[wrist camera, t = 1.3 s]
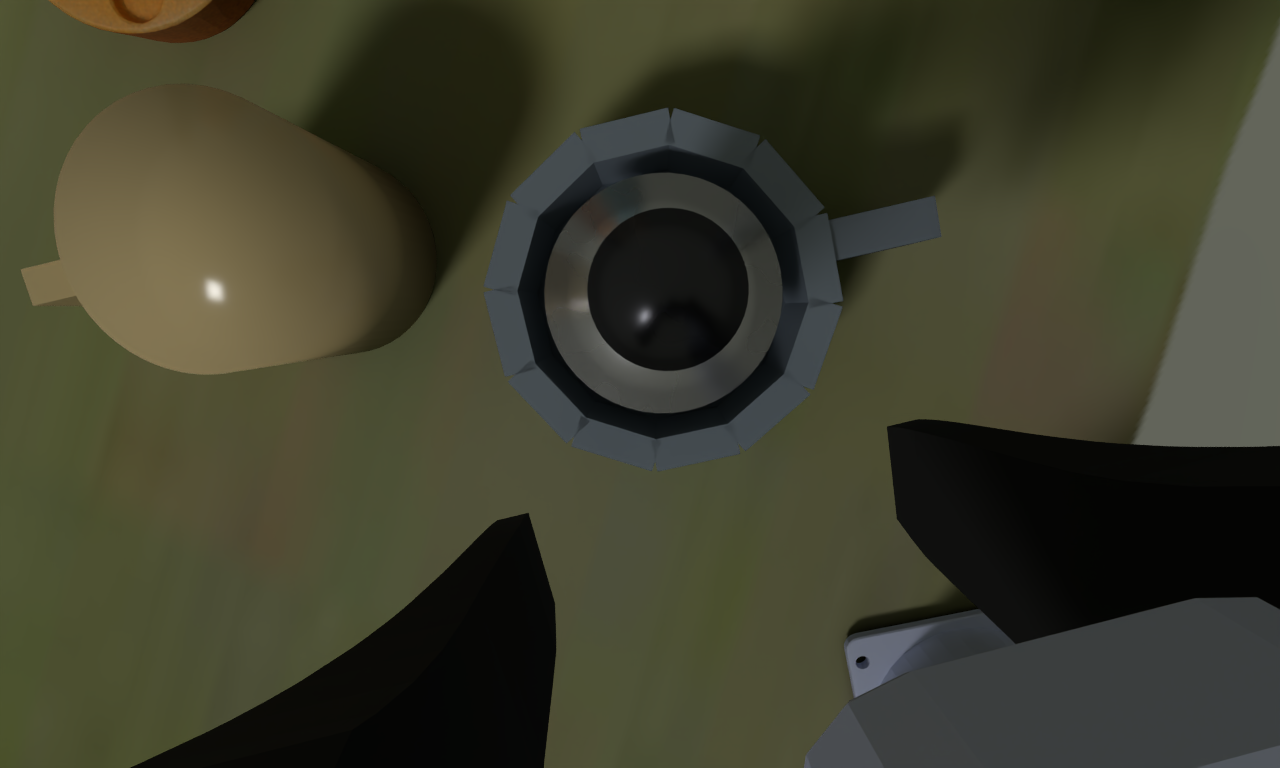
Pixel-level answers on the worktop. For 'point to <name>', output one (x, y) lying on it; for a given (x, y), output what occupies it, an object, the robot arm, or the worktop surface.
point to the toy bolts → (158, 17)
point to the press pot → (786, 218)
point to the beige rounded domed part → (231, 237)
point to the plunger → (663, 293)
